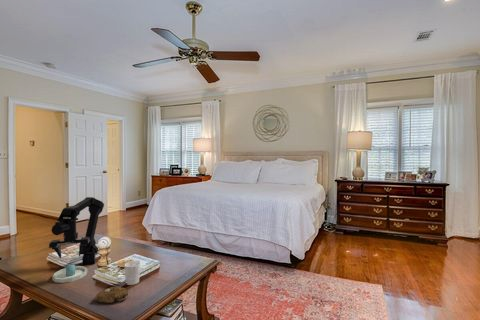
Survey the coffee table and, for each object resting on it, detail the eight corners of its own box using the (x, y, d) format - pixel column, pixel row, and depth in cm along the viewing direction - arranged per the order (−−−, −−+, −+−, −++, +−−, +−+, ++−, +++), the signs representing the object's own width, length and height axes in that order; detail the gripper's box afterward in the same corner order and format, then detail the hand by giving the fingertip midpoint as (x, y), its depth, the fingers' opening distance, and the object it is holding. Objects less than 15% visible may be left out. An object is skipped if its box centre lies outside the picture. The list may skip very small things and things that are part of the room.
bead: (75, 272, 151) (75, 263, 150) (74, 275, 146) (74, 267, 146) (67, 273, 149) (66, 265, 149) (65, 277, 145) (64, 268, 145)
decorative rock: (133, 293, 131) (104, 293, 131) (133, 284, 131) (104, 285, 132) (123, 305, 120) (91, 305, 120) (123, 296, 120) (91, 296, 120)
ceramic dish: (89, 267, 158) (89, 264, 158) (83, 279, 143) (83, 276, 143) (57, 271, 152) (57, 268, 152) (49, 284, 137) (49, 281, 137)
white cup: (143, 280, 144) (143, 262, 143) (133, 286, 136) (133, 268, 136) (131, 277, 146) (131, 260, 146) (121, 284, 139) (121, 265, 138)
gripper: (91, 224, 158) (91, 250, 158) (54, 227, 151) (54, 254, 151) (88, 229, 148) (88, 256, 148) (48, 233, 141) (48, 261, 141)
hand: (70, 257), depth 147 cm, fingers open, 9 cm apart
